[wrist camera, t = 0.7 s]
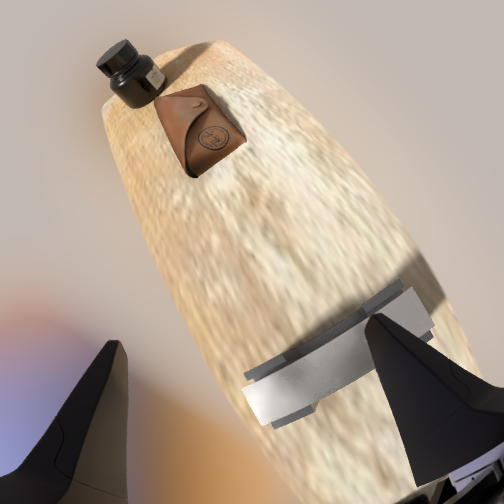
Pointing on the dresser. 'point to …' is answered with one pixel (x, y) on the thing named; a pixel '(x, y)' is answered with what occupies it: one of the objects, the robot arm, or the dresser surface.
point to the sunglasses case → (197, 129)
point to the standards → (321, 340)
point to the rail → (330, 364)
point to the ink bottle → (132, 74)
